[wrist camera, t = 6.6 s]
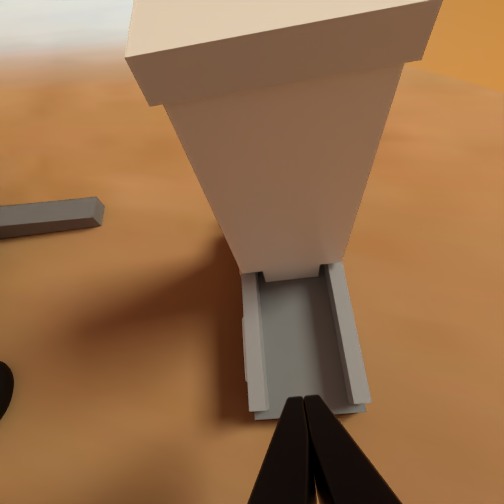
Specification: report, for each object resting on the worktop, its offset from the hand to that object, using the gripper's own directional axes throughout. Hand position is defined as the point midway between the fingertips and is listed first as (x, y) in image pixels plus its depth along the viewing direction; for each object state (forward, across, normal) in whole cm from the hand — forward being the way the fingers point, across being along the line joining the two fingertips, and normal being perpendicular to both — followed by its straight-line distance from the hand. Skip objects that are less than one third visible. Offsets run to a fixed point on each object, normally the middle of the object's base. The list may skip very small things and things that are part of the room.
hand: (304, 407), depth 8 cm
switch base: (+10, 0, +2) cm, 10 cm away
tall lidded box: (+10, 0, -1) cm, 10 cm away
